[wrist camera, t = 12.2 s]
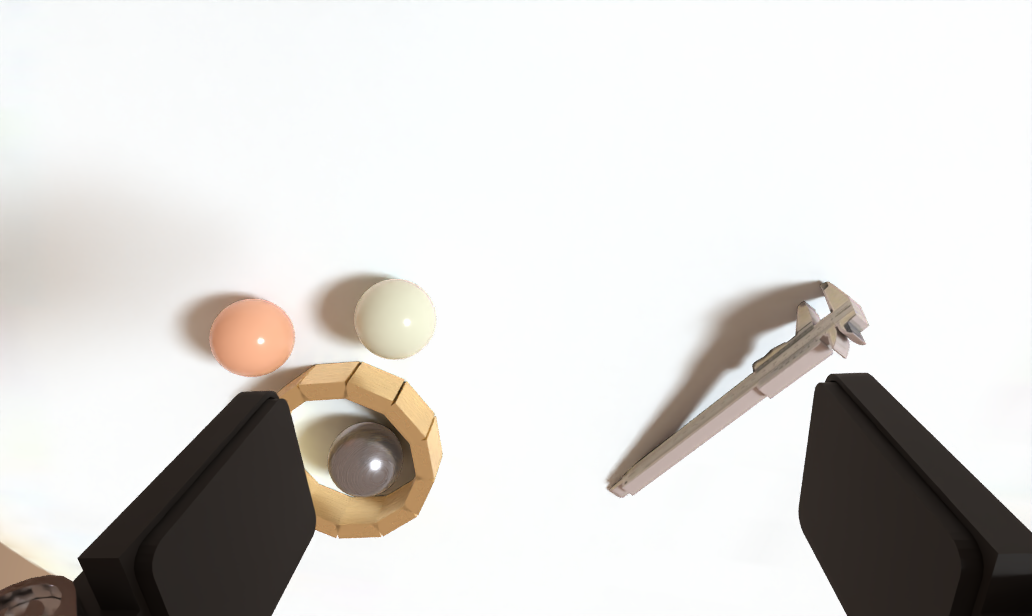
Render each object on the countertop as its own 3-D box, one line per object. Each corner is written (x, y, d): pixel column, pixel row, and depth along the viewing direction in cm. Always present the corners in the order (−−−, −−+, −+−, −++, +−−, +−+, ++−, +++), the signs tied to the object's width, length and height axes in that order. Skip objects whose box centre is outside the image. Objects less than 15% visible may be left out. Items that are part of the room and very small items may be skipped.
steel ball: (311, 426, 40) (332, 459, 36) (381, 400, 43) (407, 429, 39) (327, 486, 42) (349, 524, 38) (393, 458, 44) (419, 492, 40)
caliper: (823, 277, 36) (873, 312, 31) (835, 287, 37) (887, 325, 31) (609, 486, 43) (616, 549, 37) (620, 494, 43) (629, 558, 37)
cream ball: (361, 272, 38) (333, 297, 34) (436, 265, 38) (419, 290, 33) (376, 342, 40) (351, 376, 35) (448, 337, 39) (433, 370, 35)
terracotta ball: (226, 291, 39) (181, 318, 35) (297, 285, 39) (261, 311, 34) (246, 358, 41) (205, 393, 36) (314, 353, 41) (282, 388, 36)
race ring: (253, 369, 41) (230, 389, 39) (425, 356, 40) (415, 377, 37) (295, 512, 46) (277, 540, 43) (451, 506, 44) (444, 534, 41)
